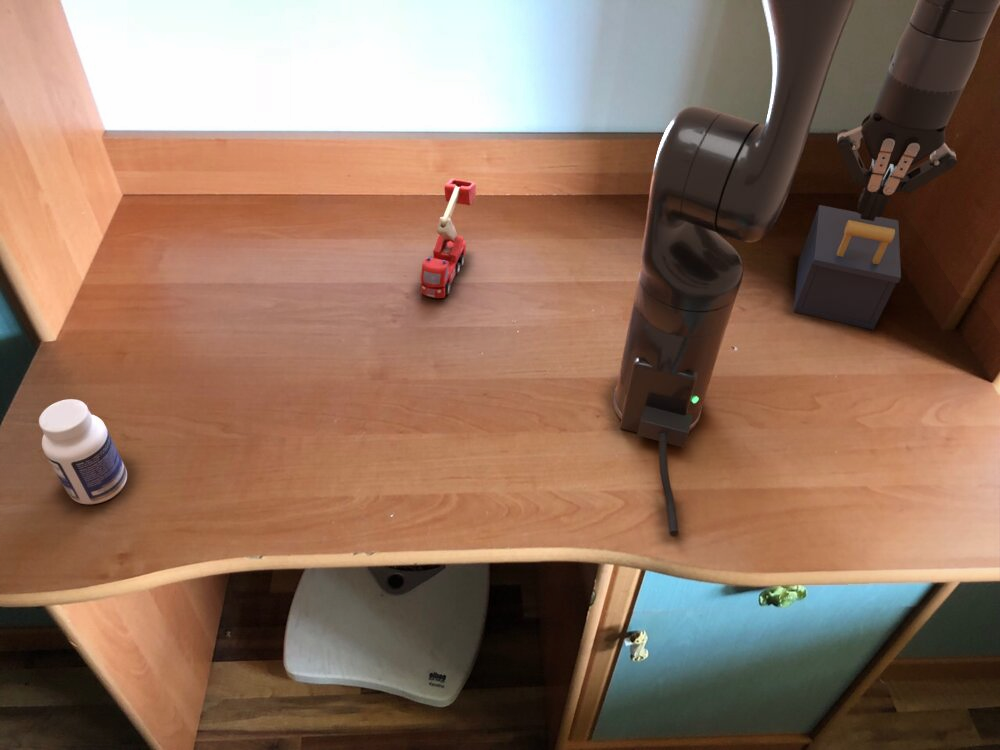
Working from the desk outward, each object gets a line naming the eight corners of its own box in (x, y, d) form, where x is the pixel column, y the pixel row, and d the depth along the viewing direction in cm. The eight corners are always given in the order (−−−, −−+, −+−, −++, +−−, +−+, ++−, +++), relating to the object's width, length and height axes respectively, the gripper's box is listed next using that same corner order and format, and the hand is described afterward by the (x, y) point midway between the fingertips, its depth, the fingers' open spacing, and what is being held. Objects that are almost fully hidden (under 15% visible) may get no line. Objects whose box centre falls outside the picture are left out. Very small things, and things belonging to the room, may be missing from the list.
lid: (898, 283, 91) (917, 244, 87) (812, 265, 93) (827, 226, 89) (895, 225, 99) (913, 188, 96) (817, 210, 101) (831, 172, 97)
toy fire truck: (418, 297, 98) (415, 232, 91) (451, 237, 108) (451, 173, 101) (444, 303, 98) (443, 237, 91) (475, 241, 107) (476, 178, 100)
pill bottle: (135, 461, 78) (104, 392, 72) (118, 506, 75) (84, 438, 68) (79, 461, 78) (43, 392, 71) (59, 506, 74) (19, 438, 67)
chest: (873, 330, 97) (898, 279, 91) (793, 312, 99) (812, 261, 93) (872, 275, 105) (895, 226, 99) (798, 260, 107) (817, 210, 101)
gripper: (860, 76, 80) (807, 221, 92) (1001, 99, 77) (927, 246, 89) (860, 48, 85) (810, 189, 97) (993, 68, 82) (924, 211, 95)
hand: (867, 216), depth 93 cm, fingers closed
